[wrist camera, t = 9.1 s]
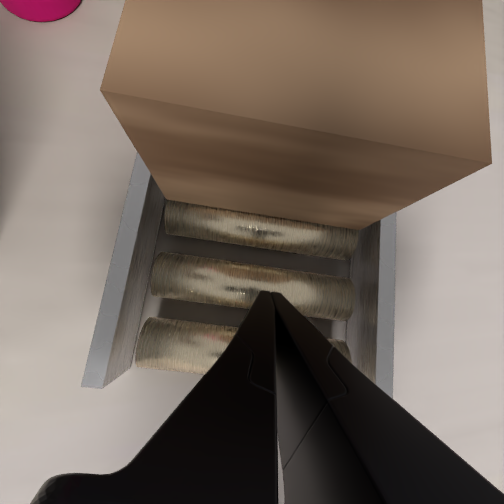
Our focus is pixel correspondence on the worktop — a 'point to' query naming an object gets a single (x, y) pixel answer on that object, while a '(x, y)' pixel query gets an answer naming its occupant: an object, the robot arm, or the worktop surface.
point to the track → (237, 285)
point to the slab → (303, 102)
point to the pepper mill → (40, 9)
